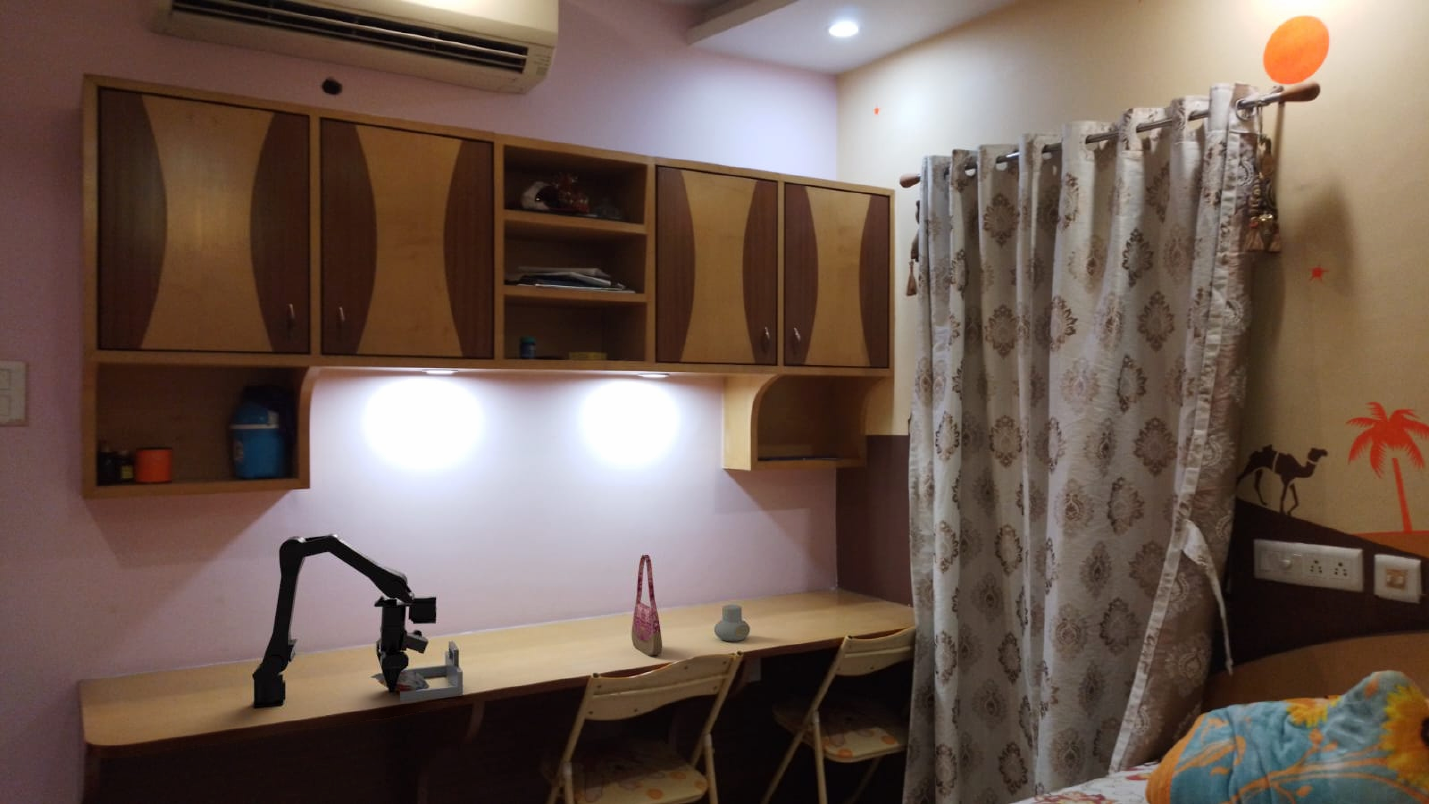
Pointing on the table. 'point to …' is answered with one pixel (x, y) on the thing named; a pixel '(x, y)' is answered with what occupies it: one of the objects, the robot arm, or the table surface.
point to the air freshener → (732, 624)
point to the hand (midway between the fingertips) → (389, 687)
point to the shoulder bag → (646, 616)
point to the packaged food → (405, 681)
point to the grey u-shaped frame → (448, 669)
